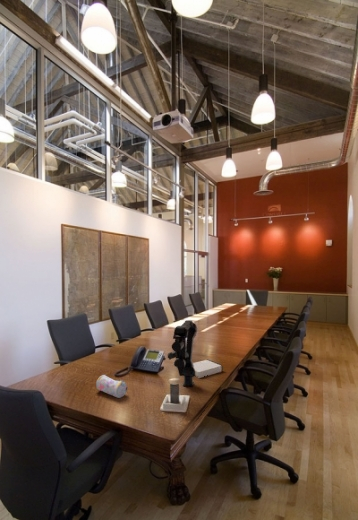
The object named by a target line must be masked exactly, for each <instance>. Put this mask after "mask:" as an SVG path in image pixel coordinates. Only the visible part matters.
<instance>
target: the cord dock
mask: <svg viewBox="0 0 358 520" xmlns="http://www.w3.org/2000/svg"><path fill="white" fill-rule="evenodd" d="M190 397H191V396H190V395H187V394H185V395H181V394H179V401H180V402H181V404H172V403H169V402H170V394H166V395H165V397H164V399H163V402H162V404H161V405H160V408H159V409H160V412H175V413H176V412H178V413H186V412H187V409H188V405H189V402H190Z"/></svg>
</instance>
